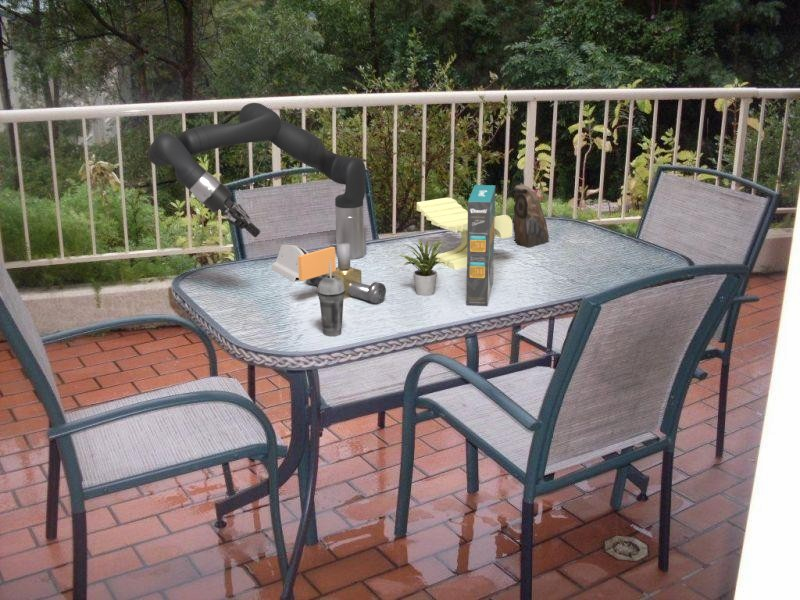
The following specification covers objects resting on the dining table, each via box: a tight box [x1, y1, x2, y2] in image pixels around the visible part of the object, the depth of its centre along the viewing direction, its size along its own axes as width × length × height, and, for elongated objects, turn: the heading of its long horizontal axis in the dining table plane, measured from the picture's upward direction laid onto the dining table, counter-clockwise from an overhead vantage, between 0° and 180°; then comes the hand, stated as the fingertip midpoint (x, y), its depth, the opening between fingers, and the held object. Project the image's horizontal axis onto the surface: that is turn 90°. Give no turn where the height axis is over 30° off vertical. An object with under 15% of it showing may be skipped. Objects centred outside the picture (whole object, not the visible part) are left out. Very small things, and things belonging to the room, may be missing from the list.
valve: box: [305, 266, 387, 305], centre depth 271 cm, size 7×28×8 cm, turn 48°
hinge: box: [270, 244, 309, 283], centre depth 291 cm, size 17×5×10 cm, turn 33°
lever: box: [298, 243, 351, 282], centre depth 264 cm, size 19×4×7 cm, turn 138°
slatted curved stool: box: [416, 197, 513, 270], centre depth 301 cm, size 30×16×18 cm, turn 34°
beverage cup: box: [316, 261, 345, 337], centre depth 239 cm, size 7×7×20 cm
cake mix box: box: [465, 184, 496, 307], centre depth 267 cm, size 22×6×30 cm, turn 171°
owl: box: [512, 182, 550, 249], centre depth 321 cm, size 13×13×20 cm
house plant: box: [399, 238, 445, 297], centre depth 271 cm, size 14×14×16 cm
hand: (258, 234), depth 258 cm, fingers closed
